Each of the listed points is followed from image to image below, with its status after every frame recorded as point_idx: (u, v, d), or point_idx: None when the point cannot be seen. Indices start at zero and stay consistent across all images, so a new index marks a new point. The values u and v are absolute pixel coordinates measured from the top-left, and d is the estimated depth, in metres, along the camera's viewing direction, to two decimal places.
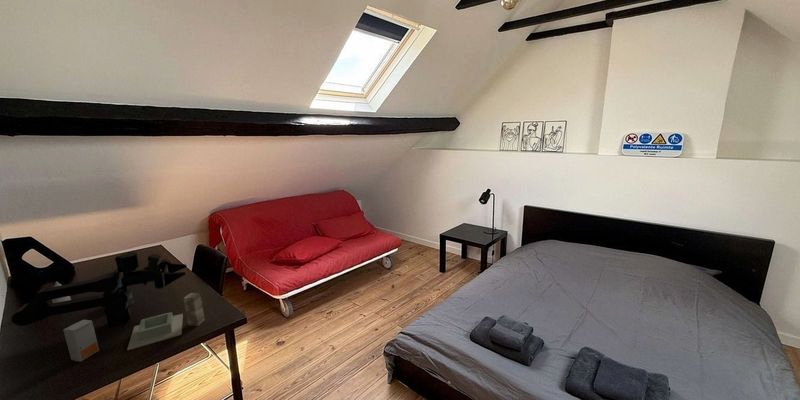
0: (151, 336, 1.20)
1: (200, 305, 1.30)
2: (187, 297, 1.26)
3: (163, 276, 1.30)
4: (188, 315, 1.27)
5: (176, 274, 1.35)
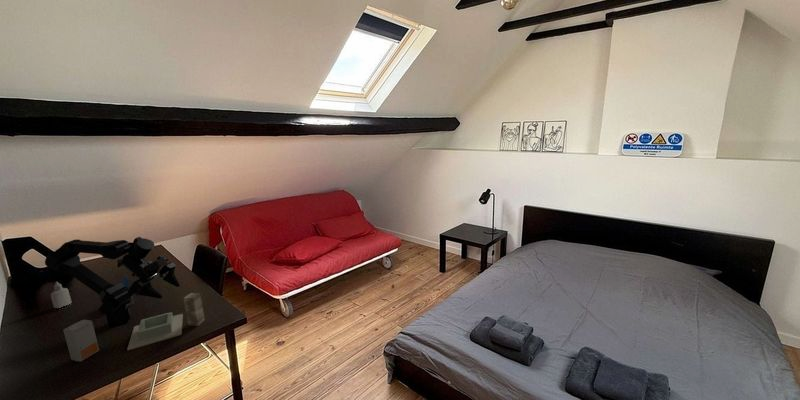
0: (151, 336, 1.20)
1: (200, 305, 1.30)
2: (187, 297, 1.26)
3: (141, 287, 1.19)
4: (188, 315, 1.27)
5: (154, 293, 1.22)
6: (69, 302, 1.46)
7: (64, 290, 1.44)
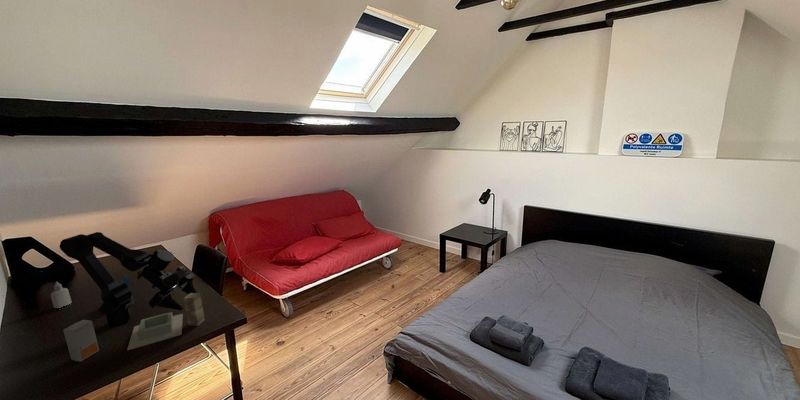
0: (151, 336, 1.20)
1: (200, 305, 1.30)
2: (187, 297, 1.26)
3: (162, 299, 1.20)
4: (188, 315, 1.27)
5: (174, 305, 1.23)
6: (69, 302, 1.46)
7: (64, 290, 1.44)
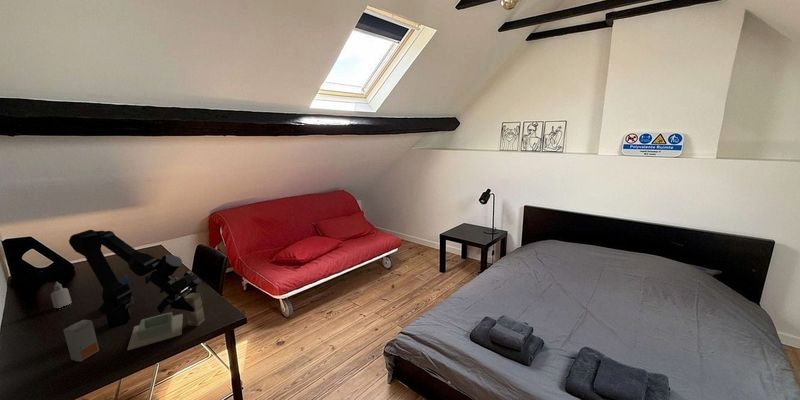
0: (151, 336, 1.20)
1: (200, 305, 1.30)
2: (187, 297, 1.26)
3: (175, 301, 1.22)
4: (188, 315, 1.27)
5: (186, 306, 1.25)
6: (69, 302, 1.46)
7: (64, 290, 1.44)
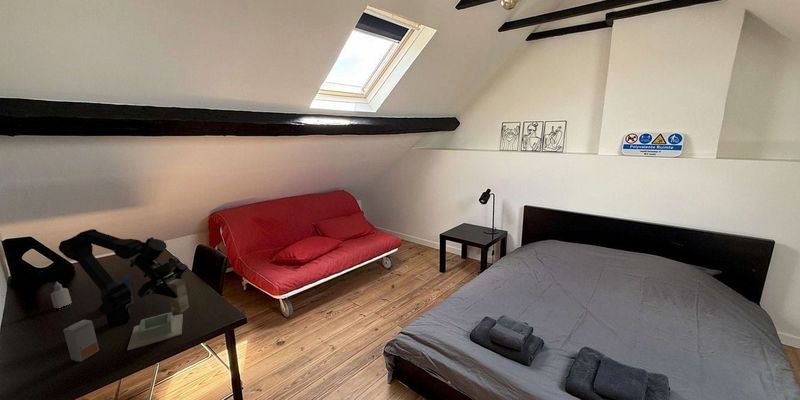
0: (151, 336, 1.20)
1: (184, 292, 1.26)
2: (170, 283, 1.23)
3: (157, 286, 1.19)
4: (171, 301, 1.24)
5: (169, 292, 1.22)
6: (69, 302, 1.46)
7: (64, 290, 1.44)
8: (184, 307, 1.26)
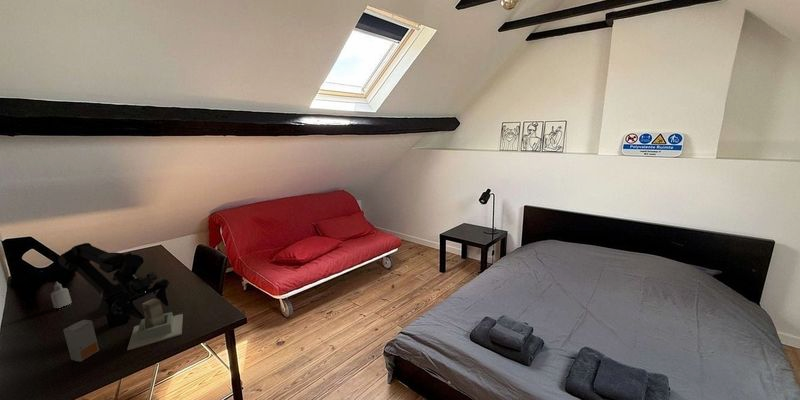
0: (151, 336, 1.20)
1: (160, 312, 1.24)
2: (145, 303, 1.22)
3: (122, 307, 1.16)
4: (147, 321, 1.23)
5: (135, 313, 1.18)
6: (69, 302, 1.46)
7: (64, 290, 1.44)
8: None
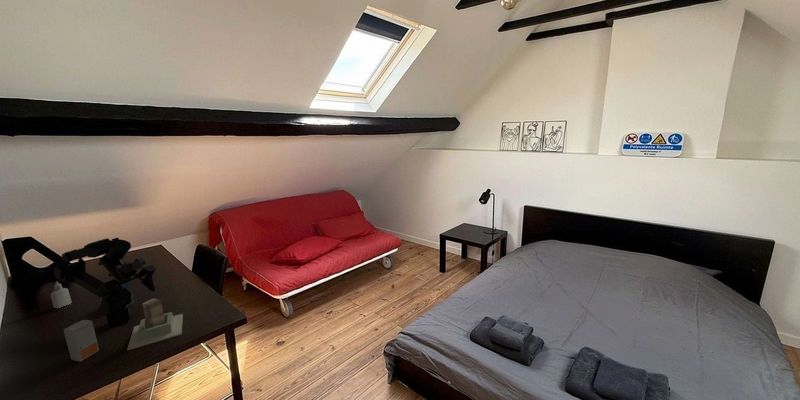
0: (151, 336, 1.20)
1: (160, 312, 1.24)
2: (146, 303, 1.22)
3: (110, 289, 1.17)
4: (147, 321, 1.23)
5: (123, 296, 1.19)
6: (69, 302, 1.46)
7: (64, 290, 1.44)
8: None
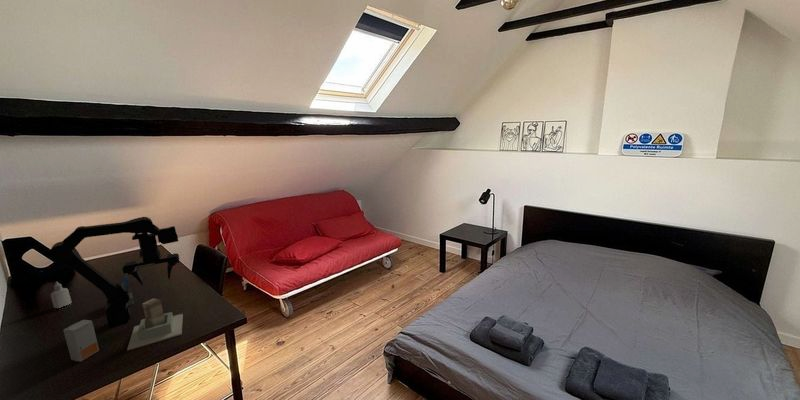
0: (151, 336, 1.20)
1: (160, 312, 1.24)
2: (146, 303, 1.22)
3: None
4: (147, 321, 1.23)
5: None
6: (69, 302, 1.46)
7: (64, 290, 1.44)
8: None
